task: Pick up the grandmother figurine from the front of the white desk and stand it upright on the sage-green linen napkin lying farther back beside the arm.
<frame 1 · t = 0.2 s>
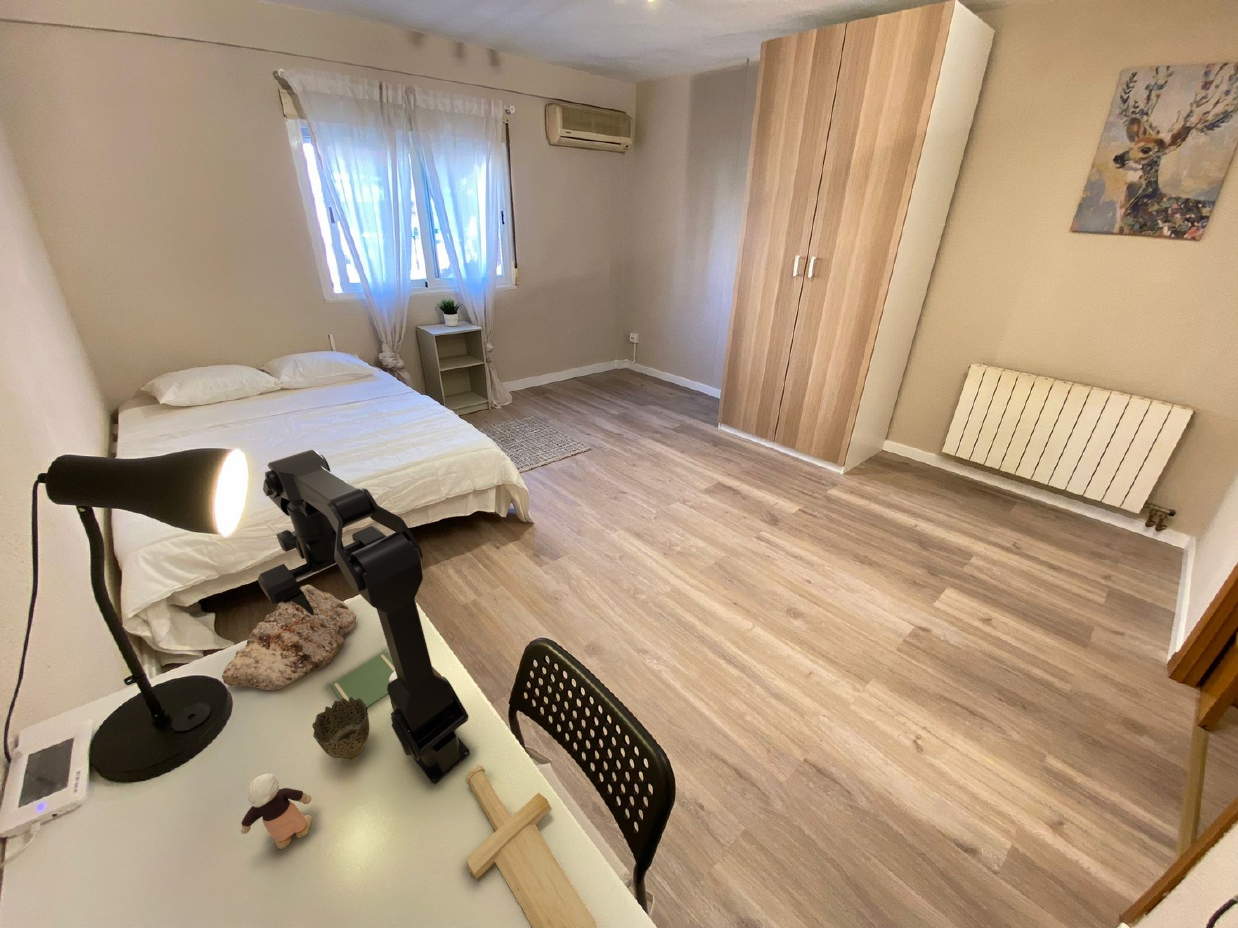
hand: (340, 599, 88), 15 cm above the table, tool pointing down, fingers open, 9 cm apart
grandmother figurine: (289, 834, 69), on the table
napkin: (369, 682, 90), on the table
cup: (352, 750, 79), on the table
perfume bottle: (423, 711, 86), on the table
toy sword: (473, 772, 75), point 2 cm above the table
stone: (268, 622, 96), point 4 cm above the table
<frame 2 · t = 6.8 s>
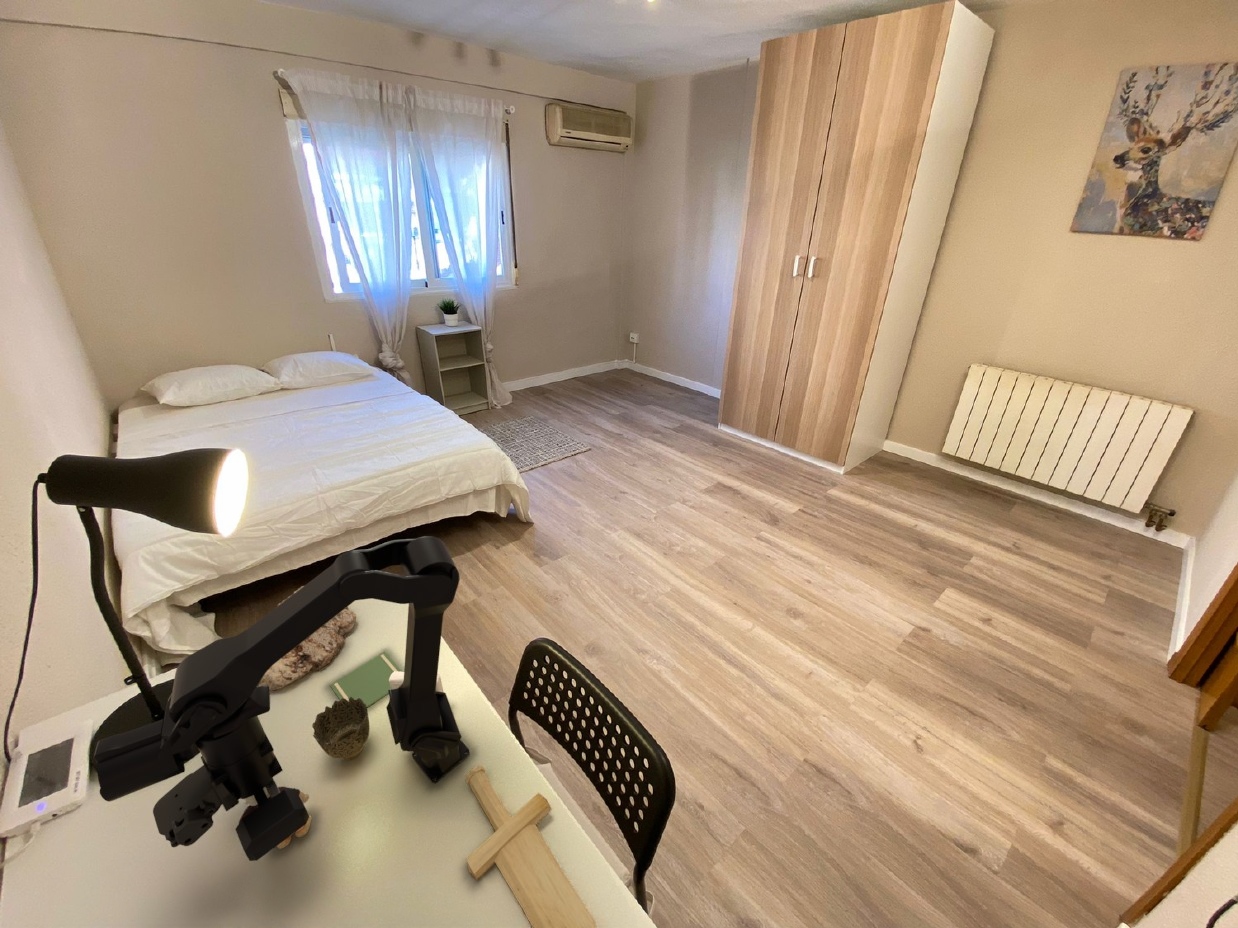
hand: (271, 816, 66), 5 cm above the table, tool pointing down, fingers closed on grandmother figurine, 7 cm apart
grandmother figurine: (289, 834, 69), on the table, touching gripper
everything else where it was.
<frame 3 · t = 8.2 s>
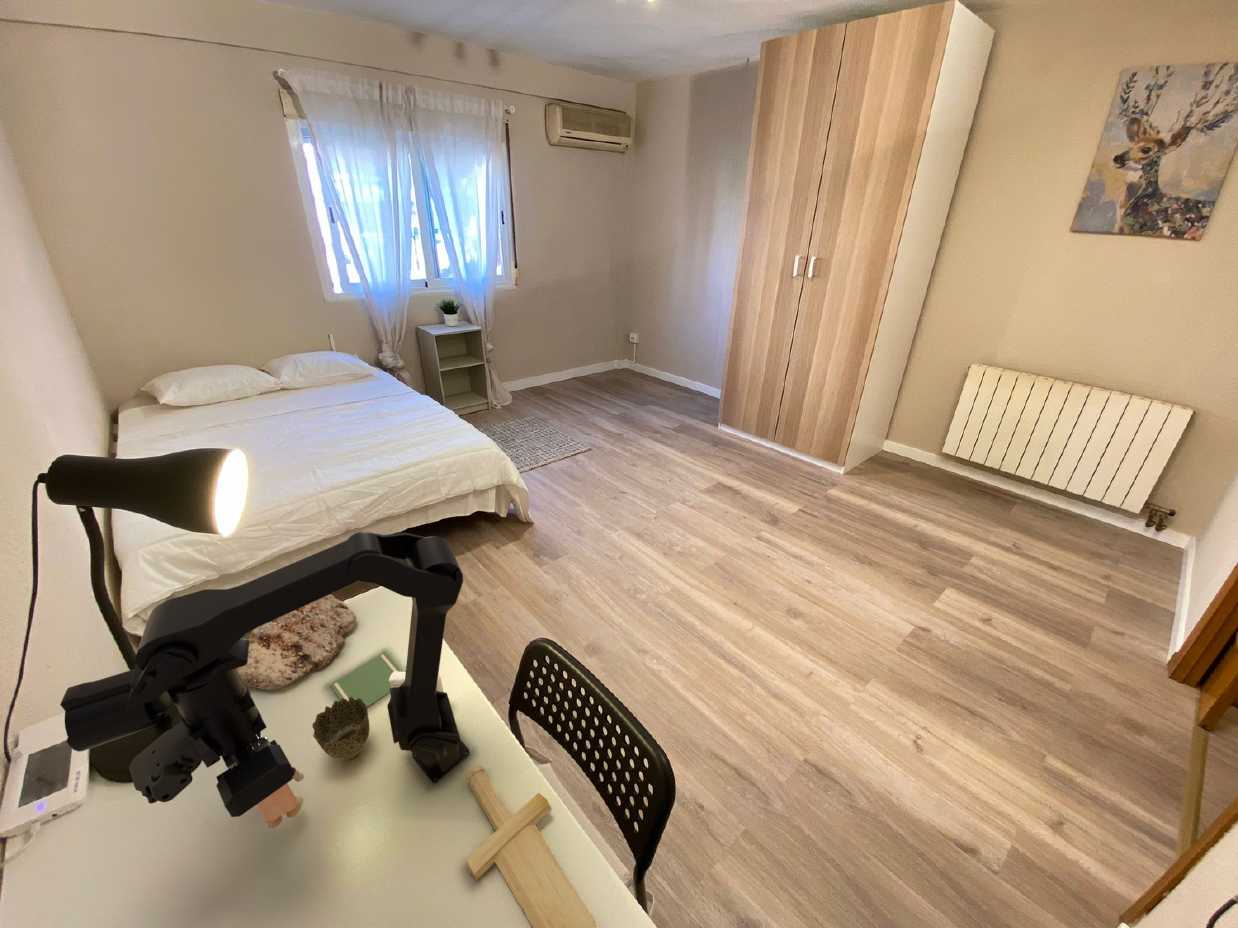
hand: (258, 777, 64), 12 cm above the table, tool pointing down, fingers closed on grandmother figurine, 3 cm apart
grandmother figurine: (280, 815, 68), point 3 cm above the table, touching gripper
everything else where it was.
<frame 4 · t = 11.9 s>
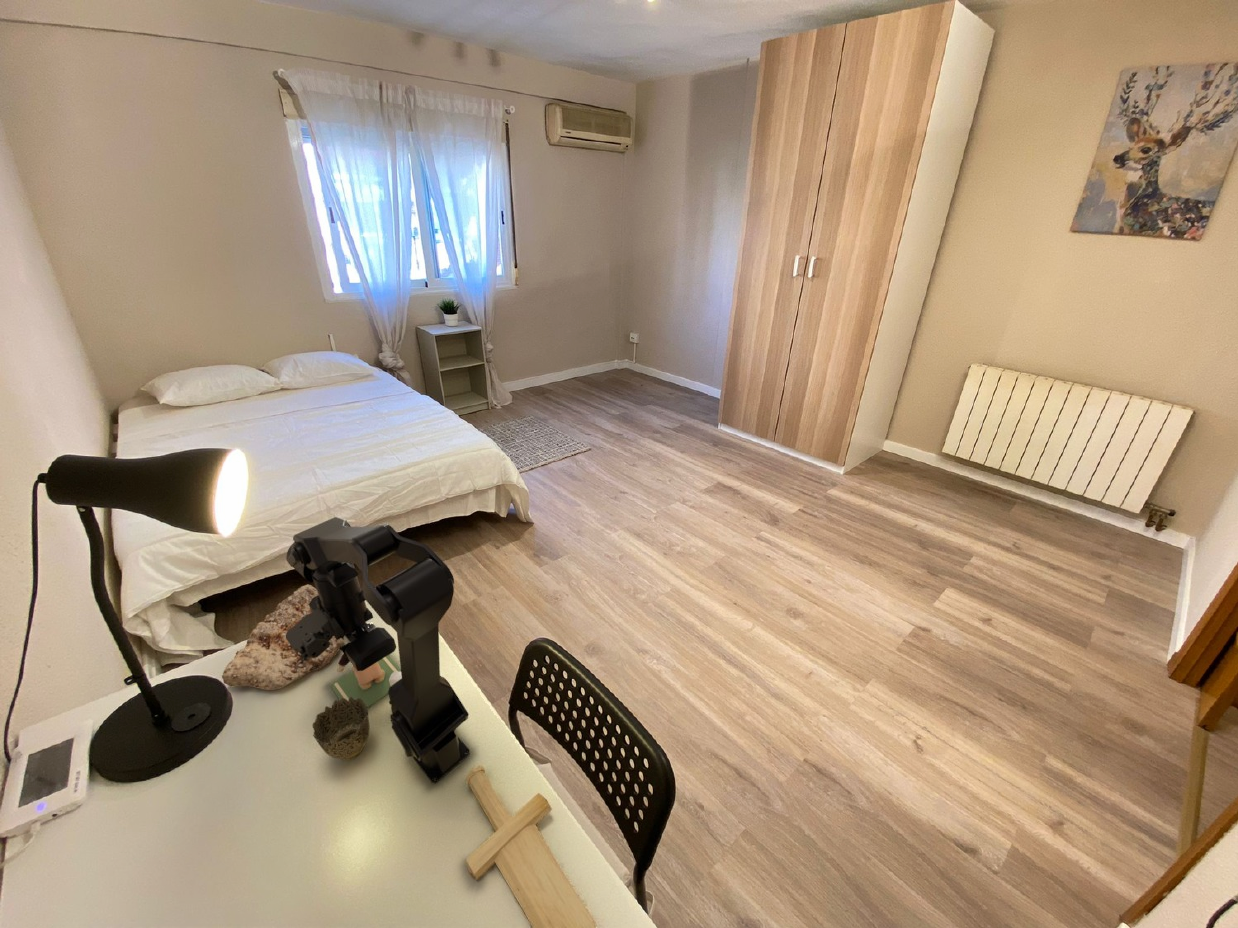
hand: (362, 659, 87), 6 cm above the table, tool pointing down, fingers closed on grandmother figurine, 2 cm apart
grandmother figurine: (369, 682, 90), resting on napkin, touching gripper
everything else where it was.
when the fingers open (6 cm above the table, at t = 11.9 s): grandmother figurine stays where it is, resting on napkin.
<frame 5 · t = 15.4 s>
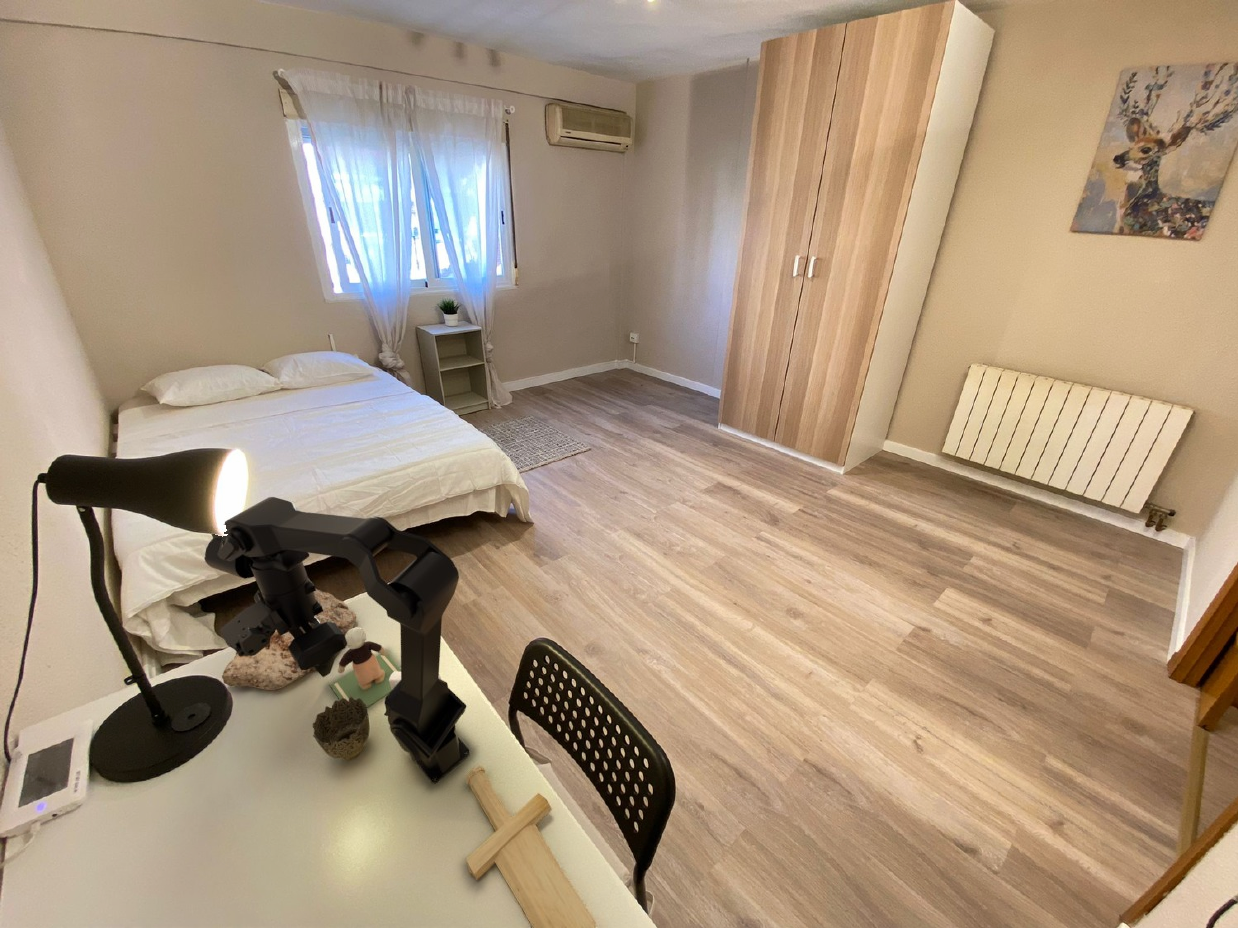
hand: (313, 657, 79), 13 cm above the table, tool pointing down, fingers open, 9 cm apart
grandmother figurine: (369, 682, 90), resting on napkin
everything else where it was.
at the end: grandmother figurine inside the target area on the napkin (0.0 cm from its centre), point 0.1 cm above the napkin's base; grandmother figurine tilted 0°; the gripper is holding nothing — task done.
